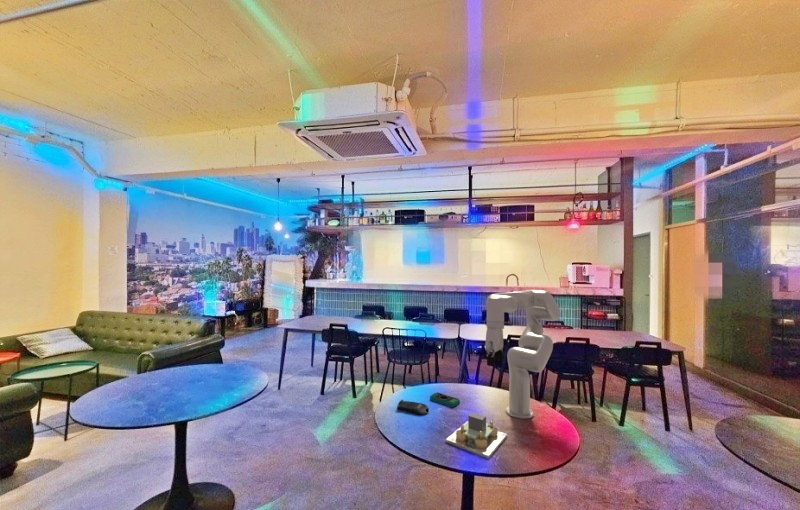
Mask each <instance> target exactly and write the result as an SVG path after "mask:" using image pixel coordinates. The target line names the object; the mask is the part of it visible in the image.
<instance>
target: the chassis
mask: <svg viewBox="0 0 800 510" xmlns="http://www.w3.org/2000/svg"><path fill="white" fill-rule="evenodd" d="M467 422H468V421H466V422H465V423H463V424H460V427H458V428H457V429H456V430H455V431H454V432H453V433H452V434H450V435H449V436H448V437H447V438H446V439H445V443H446V442H447V444H450V445H451V444H452V445H451V446H454V447H457V448H459V447H460V449H461V450H465V451H468V452H470V453H473V454H475V455H478V456H481V457H483V458H486V459H490V458H491V457H492V456H493V454H494V453H495V452H496V451H497V450H498V449H499V447H500V446H501V445H502V444H501V443H503V442H505V440H507V438H508V434H507V433H505V432H502V431H499V430H498V427H496V426H494V420H492V419H491V420H490V421H489V427H490V428H493V429H494V431H493V432H492V433H491V434H490V435H489V436H488V437H487V439H485V438H483V437H482V431H479V437H478V438H477V439H473V438H470V437H468V436H465V435H464V433H465V431H464V425H465V424H466V423H467ZM495 450H496V451H495Z"/></svg>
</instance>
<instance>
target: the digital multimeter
mask: <svg viewBox="0 0 800 510" xmlns="http://www.w3.org/2000/svg"><path fill="white" fill-rule="evenodd" d="M431 400H432V401H431ZM429 401H431V402H435V401H436V402H435V403H438V402H439V403H438V404H441V403H442V404H441V405H444V404H445V405H444V406H447V405H448V406H447V407H450V406H451V408H455V407H457V406H458V405H459V404H460V403H461V399H460V398H458V397H454V396H450V395H447V394H444V393H441V392H435V393H434V392H433V394H431V395H430V396H429ZM457 404H458V405H457ZM456 405H457V406H456ZM454 406H455V407H454Z"/></svg>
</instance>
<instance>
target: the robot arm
mask: <svg viewBox="0 0 800 510" xmlns="http://www.w3.org/2000/svg"><path fill="white" fill-rule="evenodd" d="M485 303H486V304H485V305H486V333H485V334H486V335H485V343H484V345H485V346H484V347H485V348H484V349H485V351H486V352H485V353H486V366H488V367H495V361H497V362H503V359H504V358H503V356H504V355H503V351H504V350H503V348H504V330H503V329H505V313H509V314H510V313H511V314H512V313H514V312H515V311H517V310H522V309H525V319H526V326H525V328H524V330H523V332H522V334H521V335H520V337H519V340H518V346H513V347H510V348H509V349H508V351H507V354H506V357H507V363H508V372H509V375H508V377H509V381H508V385H509V386H508V387H509V388H508V406H506V408H505V412H506V413H507V415H508V416H511V417H513V418H515V419H523V420H525V419H527V420H528V419H531V418H533V417H534V411H533V410H532V409H531V377H530V374H529V372H528V371H530V372H534V373H541V372H543V371H544V369H545V368H546V365H547V363H548V361H549V359H550V357H551V355H552V352H553V348H554V341H553V340H552V338H551V337H550V336H549V335H545V334H544V327H543V325H542V324H541V323H540V322H539V320H542V321H548V322H549V321H550V322H555V321H557V320H559V318H560V316H561V311H560V310H561V309H560V307H559V305H558V303H557V302H556V300H555V298H554V297H553V295H552V294H551V293H550V292H549V291H547V290H539V289H538V290H537V289H536V290H535V289H527V290H520V291H512V292H498V293H492V294H491V293H490V295H488V296H487V298H486V302H485Z"/></svg>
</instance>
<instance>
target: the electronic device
mask: <svg viewBox="0 0 800 510" xmlns="http://www.w3.org/2000/svg"><path fill="white" fill-rule="evenodd" d="M396 409H397V411H402V412H405V411H406V413H407V412H408V413H412V414H414V413H415V415H420V414H423V415H425V414H429V412H430V411H429V409H430V408H429V406H428V405H427V404H425V403H422V402H417V401H409V400H404V399H401V400H400V401H399V402H398V403H397V406H396ZM426 409H427V410H428V412H427V410H426Z"/></svg>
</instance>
